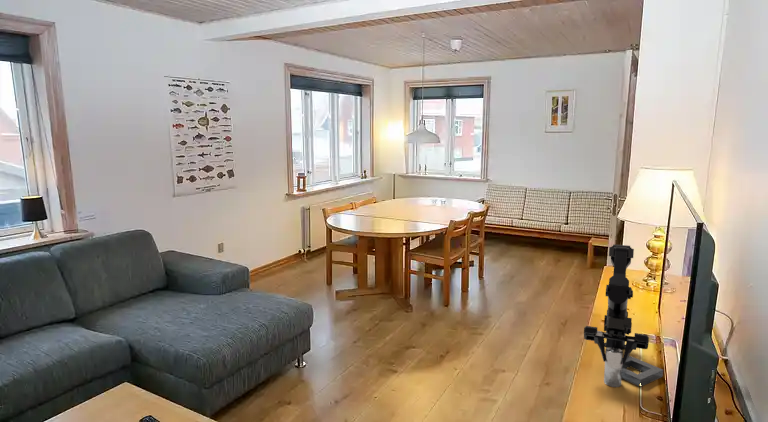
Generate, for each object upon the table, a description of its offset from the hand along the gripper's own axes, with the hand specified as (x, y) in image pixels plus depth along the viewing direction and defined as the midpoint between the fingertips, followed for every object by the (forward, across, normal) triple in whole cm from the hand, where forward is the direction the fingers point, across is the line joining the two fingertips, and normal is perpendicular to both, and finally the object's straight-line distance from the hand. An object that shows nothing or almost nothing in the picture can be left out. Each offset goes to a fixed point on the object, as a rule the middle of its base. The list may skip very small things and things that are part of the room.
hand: (613, 362), depth 153 cm
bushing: (+4, 0, +6) cm, 8 cm away
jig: (-2, +6, +13) cm, 14 cm away
